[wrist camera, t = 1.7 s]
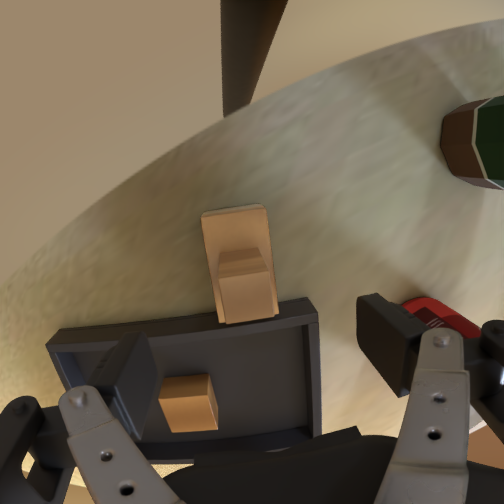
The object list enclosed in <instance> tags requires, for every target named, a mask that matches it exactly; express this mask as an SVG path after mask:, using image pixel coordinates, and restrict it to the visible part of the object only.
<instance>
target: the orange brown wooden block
mask: <svg viewBox="0 0 504 504" xmlns="http://www.w3.org/2000/svg"><path fill="white" fill-rule="evenodd" d="M158 400H159V402H160V405H161V407H162V410H163V412H164V415H165V417H166V420H167V422H168V424H169V427H170V429H171V431H172V432H173V433H174V432H191V431H205V430H216V429H218V405H217V402H216V398H215V394H214V391H213V387H212V383H211V379H210V376H209V374H199V375H190V376H179V377H168V378H164V379H163V383H162V386H161V390H160V394H159V398H158Z"/></svg>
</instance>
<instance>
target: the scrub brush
mask: <svg viewBox="0 0 504 504" xmlns="http://www.w3.org/2000/svg"><path fill="white" fill-rule="evenodd" d="M200 220H201V226H202V232H203V238H204V244H205V249H206V255H207V261H208V266H209V272H210V277H211V283H212V288H213V294H214V299H215V304H216V309H217V314H218V319H219V323H223V322H226V324H231V323H238V322H244V321H251V320H257V319H263V318H269V317H274V316H275V314H279V308H278V299H277V291H276V283H275V274H274V266H273V258H272V250H271V242H270V234H269V226H268V219H267V211H266V208H265V207H264V206H262V205H261V204H259V203H258V204H251V205H244V206H237V207H231V208H224V209H218V210H211V211H205V212H204V213H203V215H202V216H201V218H200Z"/></svg>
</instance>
